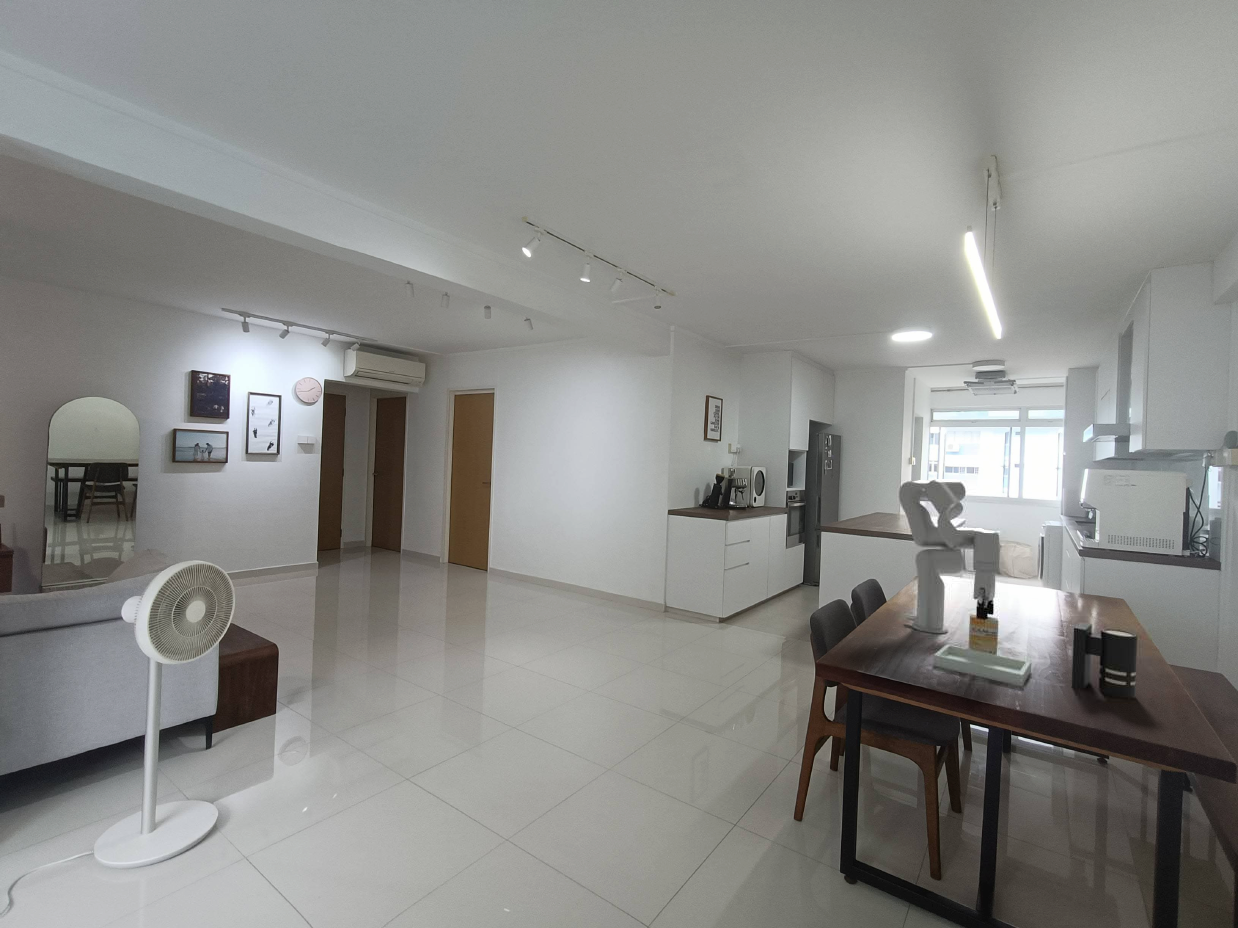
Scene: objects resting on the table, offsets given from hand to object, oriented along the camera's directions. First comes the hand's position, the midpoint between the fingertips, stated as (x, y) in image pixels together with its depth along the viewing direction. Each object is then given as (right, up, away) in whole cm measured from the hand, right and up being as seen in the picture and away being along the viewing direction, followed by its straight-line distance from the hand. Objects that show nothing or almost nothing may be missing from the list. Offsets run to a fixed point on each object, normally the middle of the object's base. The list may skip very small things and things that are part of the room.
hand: (985, 616), depth 202 cm
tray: (-10, -13, -14) cm, 22 cm away
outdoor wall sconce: (+17, -15, -29) cm, 37 cm away
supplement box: (0, -14, +1) cm, 14 cm away
